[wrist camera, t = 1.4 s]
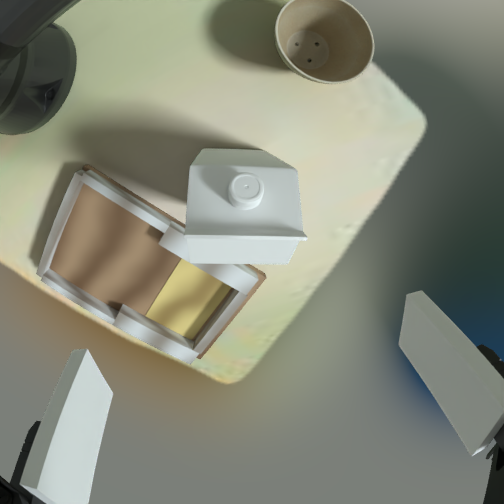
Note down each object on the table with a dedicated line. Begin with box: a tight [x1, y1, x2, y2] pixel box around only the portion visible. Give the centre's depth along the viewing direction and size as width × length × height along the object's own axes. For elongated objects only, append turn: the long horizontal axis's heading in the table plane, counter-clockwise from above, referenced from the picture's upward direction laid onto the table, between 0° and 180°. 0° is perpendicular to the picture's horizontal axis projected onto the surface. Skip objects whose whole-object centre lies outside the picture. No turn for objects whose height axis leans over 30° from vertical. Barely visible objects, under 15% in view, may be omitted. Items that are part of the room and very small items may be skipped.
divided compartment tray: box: [36, 164, 266, 365], centre depth 37 cm, size 26×16×3 cm, turn 54°
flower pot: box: [274, 0, 374, 84], centre depth 27 cm, size 10×10×7 cm
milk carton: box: [184, 148, 307, 264], centre depth 27 cm, size 7×7×19 cm
